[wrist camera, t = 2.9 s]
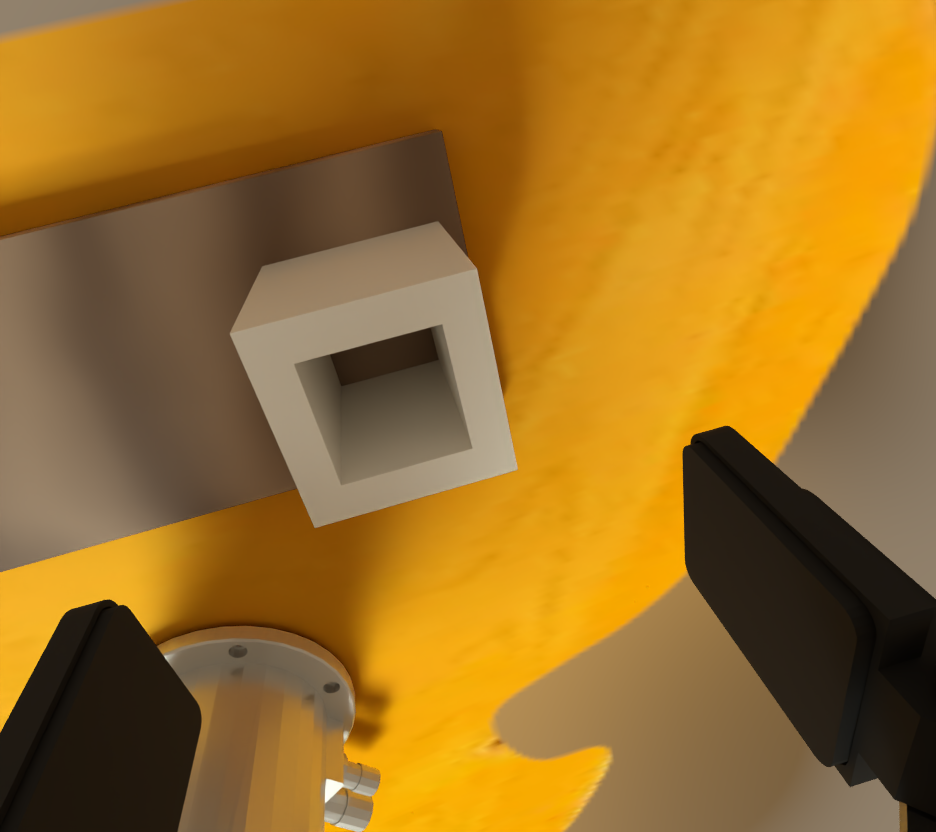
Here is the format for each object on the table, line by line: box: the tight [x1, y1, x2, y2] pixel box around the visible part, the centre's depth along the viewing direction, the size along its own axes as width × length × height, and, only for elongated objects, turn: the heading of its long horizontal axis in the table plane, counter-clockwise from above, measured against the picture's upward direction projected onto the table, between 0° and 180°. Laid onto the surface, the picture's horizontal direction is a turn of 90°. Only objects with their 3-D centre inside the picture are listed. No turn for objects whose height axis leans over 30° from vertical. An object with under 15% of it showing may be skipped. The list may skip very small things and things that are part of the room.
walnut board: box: [0, 129, 468, 572], centre depth 23 cm, size 26×12×2 cm, turn 102°
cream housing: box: [230, 221, 518, 528], centre depth 20 cm, size 6×6×7 cm
